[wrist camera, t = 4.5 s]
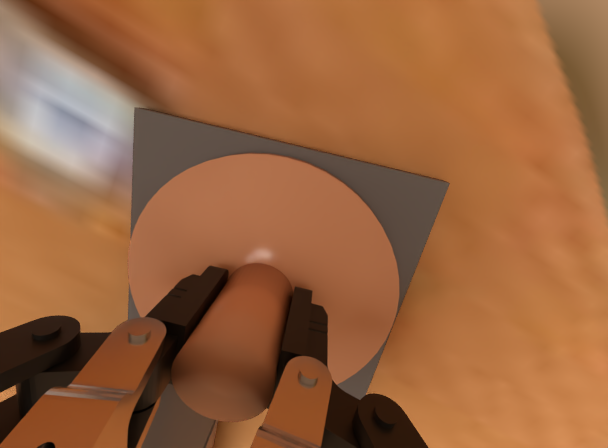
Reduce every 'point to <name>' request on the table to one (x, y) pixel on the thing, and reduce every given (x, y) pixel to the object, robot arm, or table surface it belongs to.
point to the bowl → (179, 425)
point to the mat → (356, 174)
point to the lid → (263, 273)
